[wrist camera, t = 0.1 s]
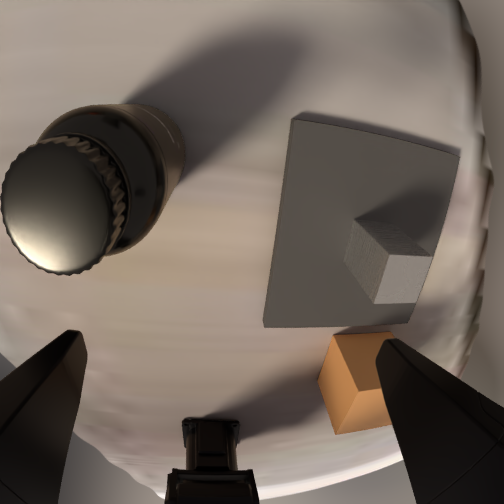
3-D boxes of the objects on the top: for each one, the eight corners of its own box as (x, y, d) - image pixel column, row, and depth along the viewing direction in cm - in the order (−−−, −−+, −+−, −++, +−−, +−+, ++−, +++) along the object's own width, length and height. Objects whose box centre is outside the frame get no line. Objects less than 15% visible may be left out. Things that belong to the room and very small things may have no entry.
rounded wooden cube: (370, 375, 32) (394, 423, 26) (317, 380, 31) (335, 434, 25) (390, 331, 29) (422, 381, 23) (333, 335, 28) (358, 391, 22)
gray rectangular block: (381, 263, 24) (415, 302, 19) (343, 261, 24) (373, 303, 19) (392, 223, 23) (432, 257, 18) (353, 219, 22) (389, 254, 17)
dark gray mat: (403, 316, 29) (407, 323, 28) (262, 320, 27) (264, 327, 26) (452, 154, 22) (460, 156, 21) (291, 118, 20) (294, 119, 19)
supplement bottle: (194, 108, 19) (165, 115, 8) (179, 208, 22) (147, 316, 11) (94, 100, 18) (-21, 112, 7) (86, 196, 20) (-7, 287, 10)
